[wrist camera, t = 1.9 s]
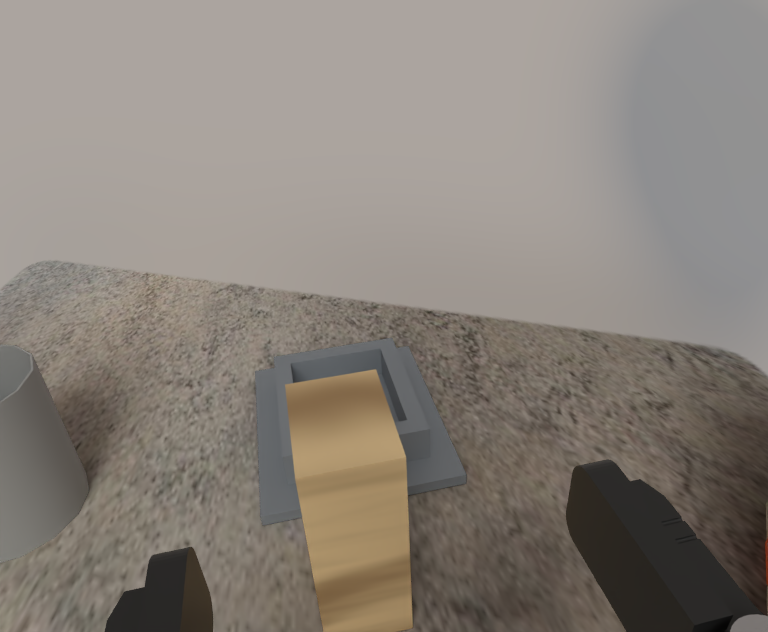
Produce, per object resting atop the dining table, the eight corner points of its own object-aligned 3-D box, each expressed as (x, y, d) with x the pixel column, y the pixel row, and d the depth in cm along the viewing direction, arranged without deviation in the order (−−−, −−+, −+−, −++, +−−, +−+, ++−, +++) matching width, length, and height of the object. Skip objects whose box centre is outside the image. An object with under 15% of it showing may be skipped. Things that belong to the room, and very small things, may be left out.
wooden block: (412, 627, 29) (406, 457, 22) (326, 649, 28) (295, 478, 22) (387, 530, 34) (375, 369, 27) (313, 546, 33) (284, 384, 27)
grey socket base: (466, 483, 36) (467, 446, 35) (262, 525, 34) (253, 488, 33) (408, 353, 49) (407, 321, 47) (256, 378, 47) (249, 346, 45)
